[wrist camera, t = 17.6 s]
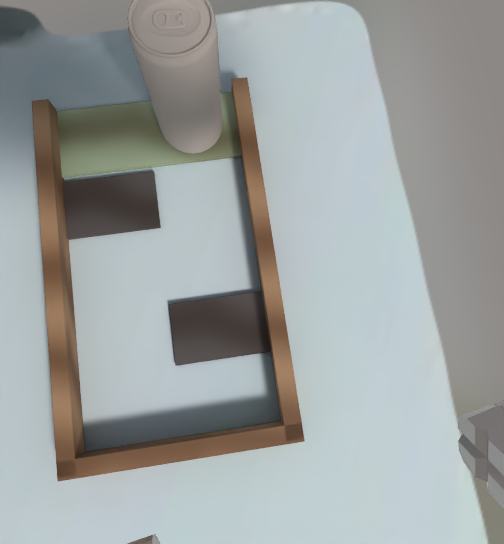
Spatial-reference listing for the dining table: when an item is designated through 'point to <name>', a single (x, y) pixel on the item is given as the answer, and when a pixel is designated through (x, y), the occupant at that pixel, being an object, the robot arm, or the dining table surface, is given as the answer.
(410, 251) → the dining table surface
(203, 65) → the beverage can
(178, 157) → the box
